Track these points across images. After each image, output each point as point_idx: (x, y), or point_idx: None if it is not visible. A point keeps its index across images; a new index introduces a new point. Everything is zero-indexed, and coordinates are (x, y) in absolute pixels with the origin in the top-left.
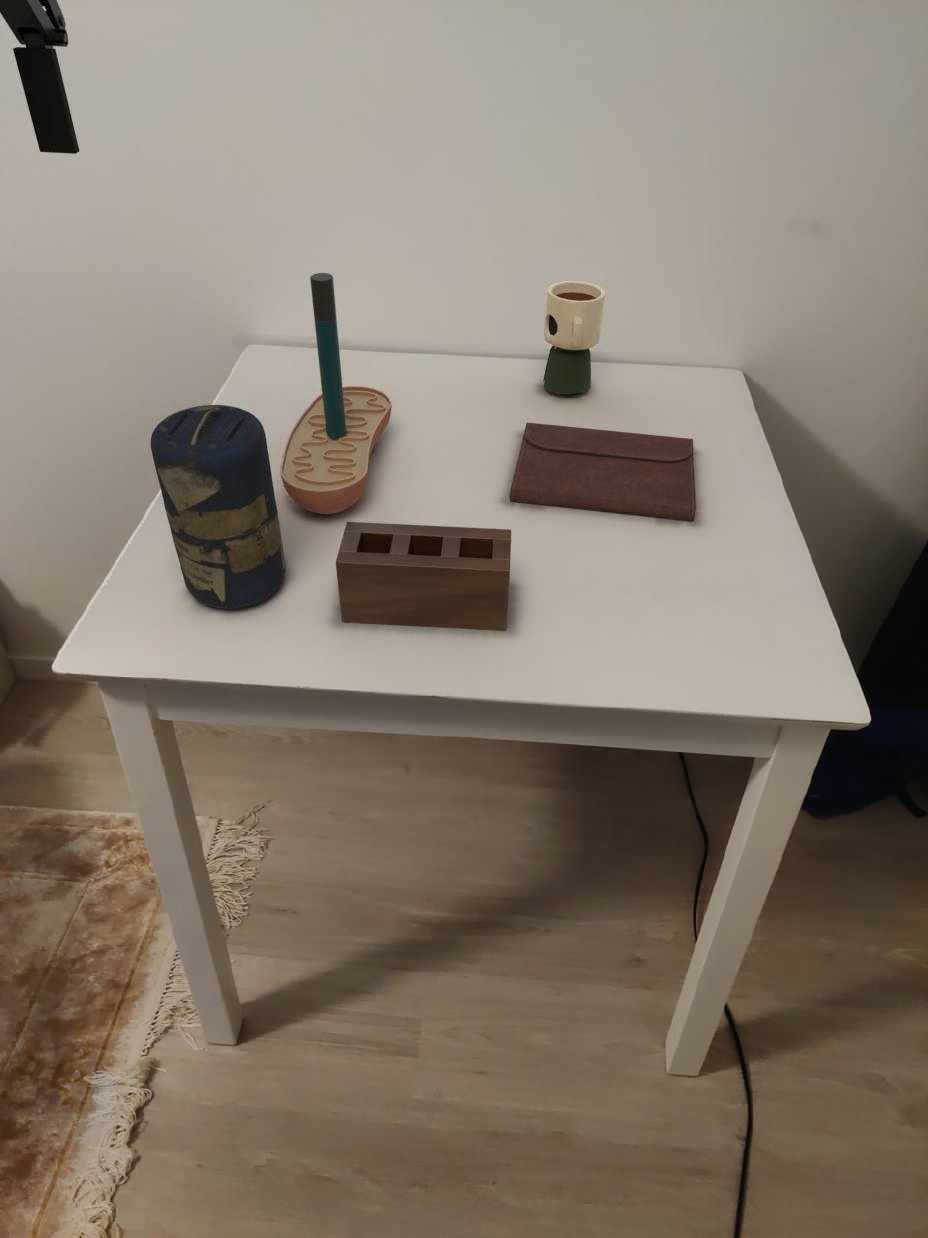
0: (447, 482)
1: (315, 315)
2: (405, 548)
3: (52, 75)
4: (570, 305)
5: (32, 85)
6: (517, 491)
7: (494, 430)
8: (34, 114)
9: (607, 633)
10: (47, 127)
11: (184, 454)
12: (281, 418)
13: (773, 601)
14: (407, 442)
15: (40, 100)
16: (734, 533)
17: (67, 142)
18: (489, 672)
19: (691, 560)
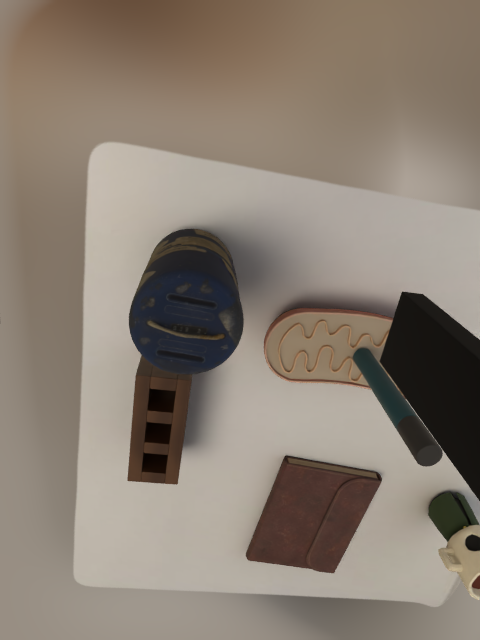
0: (318, 416)
1: (405, 420)
2: (154, 420)
3: (454, 449)
4: (471, 574)
5: (464, 379)
6: (284, 466)
7: (391, 451)
8: (434, 333)
9: (134, 494)
10: (413, 342)
11: (134, 315)
12: (460, 279)
13: (164, 572)
14: None
15: (442, 370)
16: (232, 568)
17: (390, 361)
18: (96, 431)
19: (205, 543)
